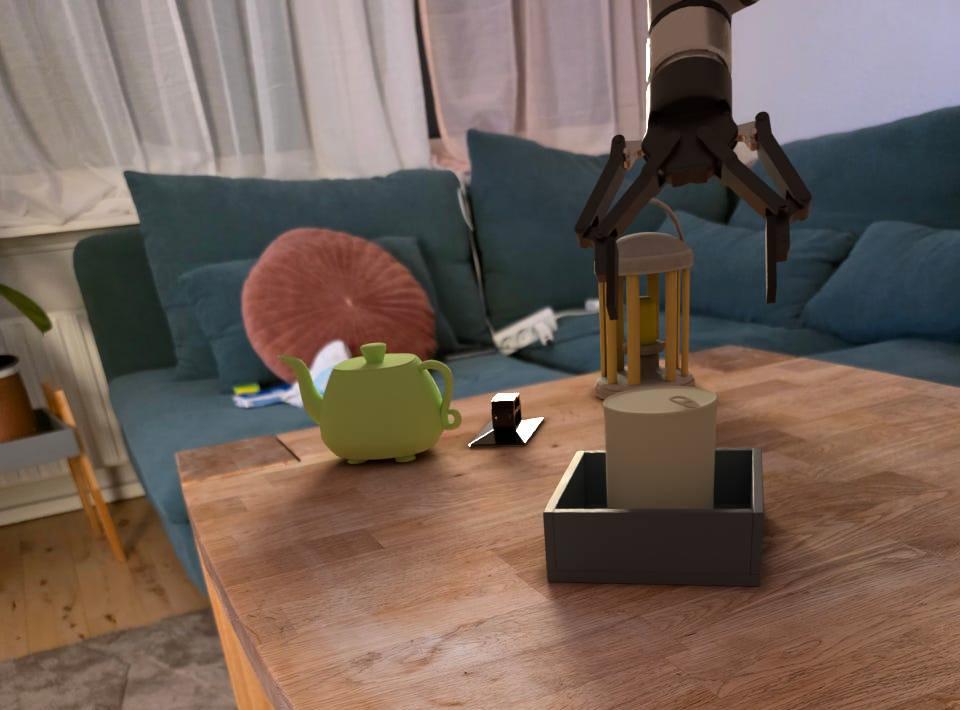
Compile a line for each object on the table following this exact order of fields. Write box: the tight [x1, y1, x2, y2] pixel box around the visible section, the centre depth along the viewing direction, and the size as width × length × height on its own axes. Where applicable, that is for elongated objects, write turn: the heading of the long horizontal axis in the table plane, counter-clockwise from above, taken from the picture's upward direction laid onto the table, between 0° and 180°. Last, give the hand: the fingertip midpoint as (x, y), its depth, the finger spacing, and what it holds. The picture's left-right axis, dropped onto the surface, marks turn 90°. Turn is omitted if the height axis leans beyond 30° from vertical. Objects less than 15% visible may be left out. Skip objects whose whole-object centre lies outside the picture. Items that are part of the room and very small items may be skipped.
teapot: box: [276, 342, 463, 465], centre depth 109 cm, size 22×15×13 cm
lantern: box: [593, 197, 696, 400], centre depth 122 cm, size 14×14×25 cm
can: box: [602, 386, 719, 509], centre depth 74 cm, size 9×9×12 cm
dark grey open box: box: [542, 447, 765, 587], centre depth 76 cm, size 17×17×6 cm
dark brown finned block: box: [468, 392, 545, 448], centre depth 114 cm, size 12×7×5 cm, turn 165°
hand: (690, 305), depth 78 cm, fingers open, 13 cm apart
